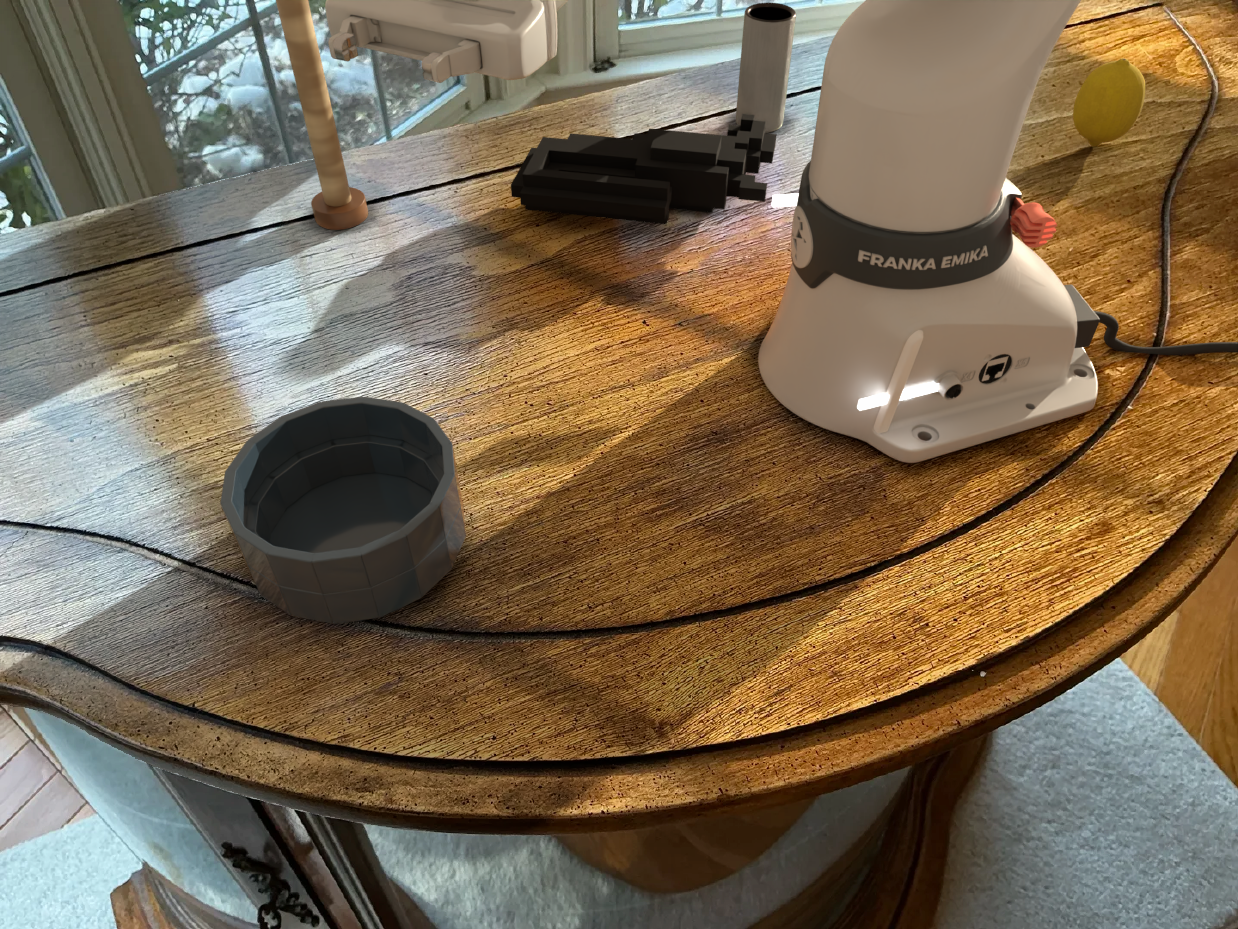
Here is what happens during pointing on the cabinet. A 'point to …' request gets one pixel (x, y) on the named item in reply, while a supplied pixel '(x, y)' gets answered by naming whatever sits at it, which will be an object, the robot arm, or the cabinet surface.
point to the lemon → (1109, 102)
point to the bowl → (346, 508)
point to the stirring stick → (319, 121)
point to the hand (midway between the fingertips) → (381, 61)
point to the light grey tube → (765, 63)
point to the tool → (645, 172)
